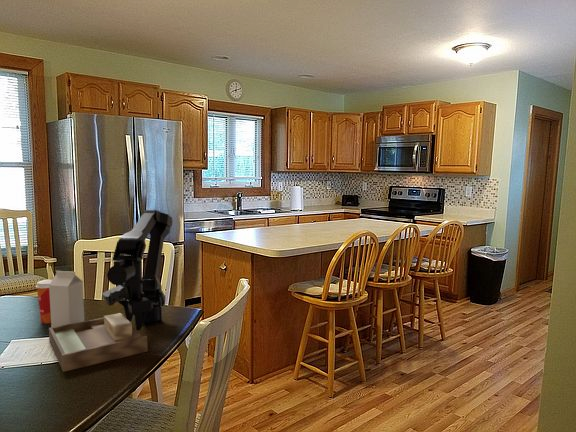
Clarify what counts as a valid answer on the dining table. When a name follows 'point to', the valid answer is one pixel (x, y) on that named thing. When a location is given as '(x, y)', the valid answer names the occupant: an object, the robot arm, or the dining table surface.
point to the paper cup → (44, 300)
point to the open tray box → (91, 344)
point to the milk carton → (66, 299)
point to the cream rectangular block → (117, 326)
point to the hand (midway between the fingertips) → (133, 325)
